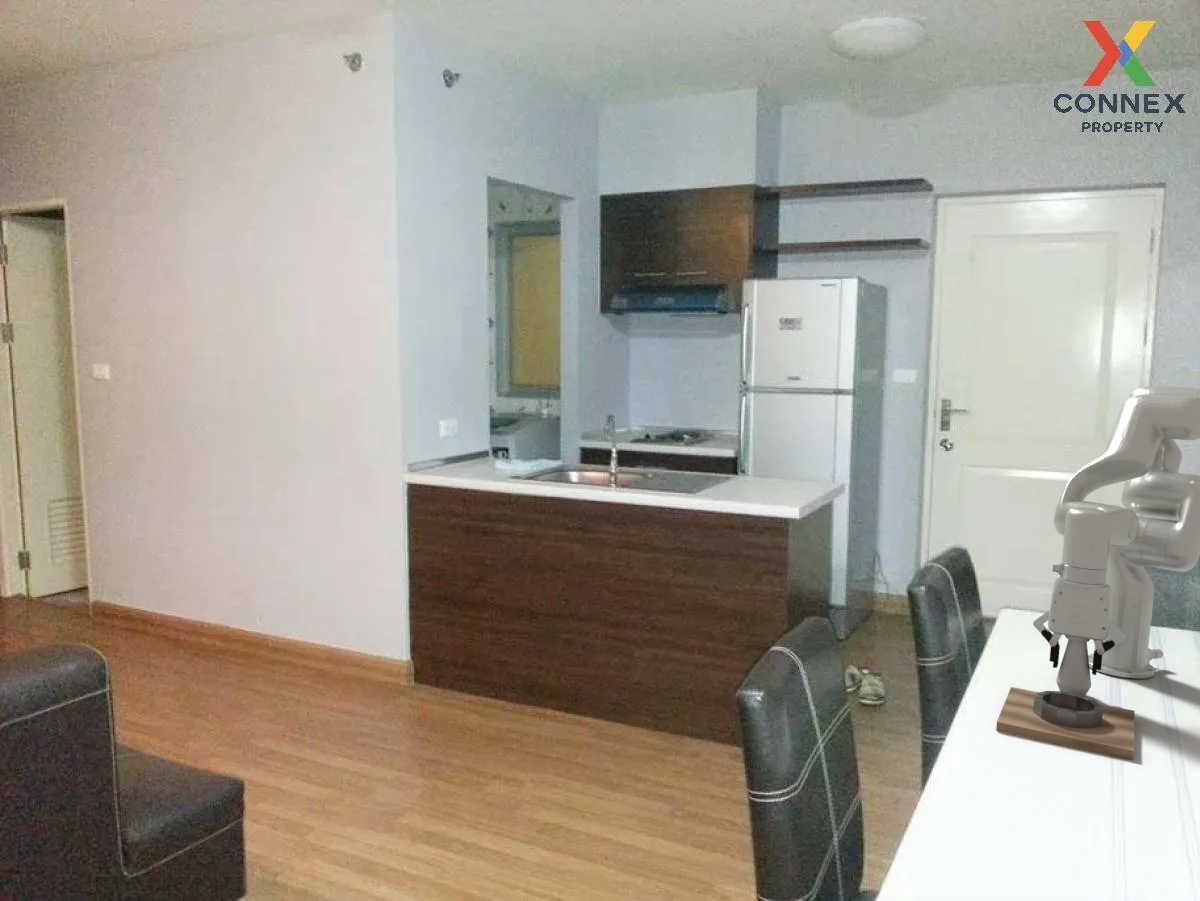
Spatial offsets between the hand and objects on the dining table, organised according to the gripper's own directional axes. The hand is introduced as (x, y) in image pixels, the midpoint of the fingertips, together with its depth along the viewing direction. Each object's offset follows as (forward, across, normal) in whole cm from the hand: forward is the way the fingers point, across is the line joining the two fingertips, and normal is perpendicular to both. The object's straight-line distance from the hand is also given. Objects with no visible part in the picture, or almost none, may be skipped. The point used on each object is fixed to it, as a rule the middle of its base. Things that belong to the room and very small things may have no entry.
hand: (1074, 668), depth 174 cm
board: (+5, 0, -17) cm, 18 cm away
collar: (+4, 0, -17) cm, 17 cm away
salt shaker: (+5, 0, 0) cm, 5 cm away
